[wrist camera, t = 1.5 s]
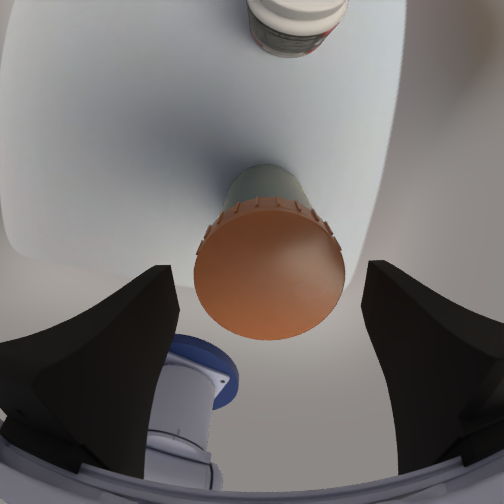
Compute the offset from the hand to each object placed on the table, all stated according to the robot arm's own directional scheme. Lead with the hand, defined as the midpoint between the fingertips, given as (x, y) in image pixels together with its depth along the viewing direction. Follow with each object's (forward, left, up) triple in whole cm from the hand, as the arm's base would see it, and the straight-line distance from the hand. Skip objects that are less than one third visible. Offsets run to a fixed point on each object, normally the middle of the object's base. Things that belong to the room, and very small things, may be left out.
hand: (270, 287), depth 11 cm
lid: (0, 0, -1) cm, 1 cm away
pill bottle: (+11, +4, -11) cm, 16 cm away
